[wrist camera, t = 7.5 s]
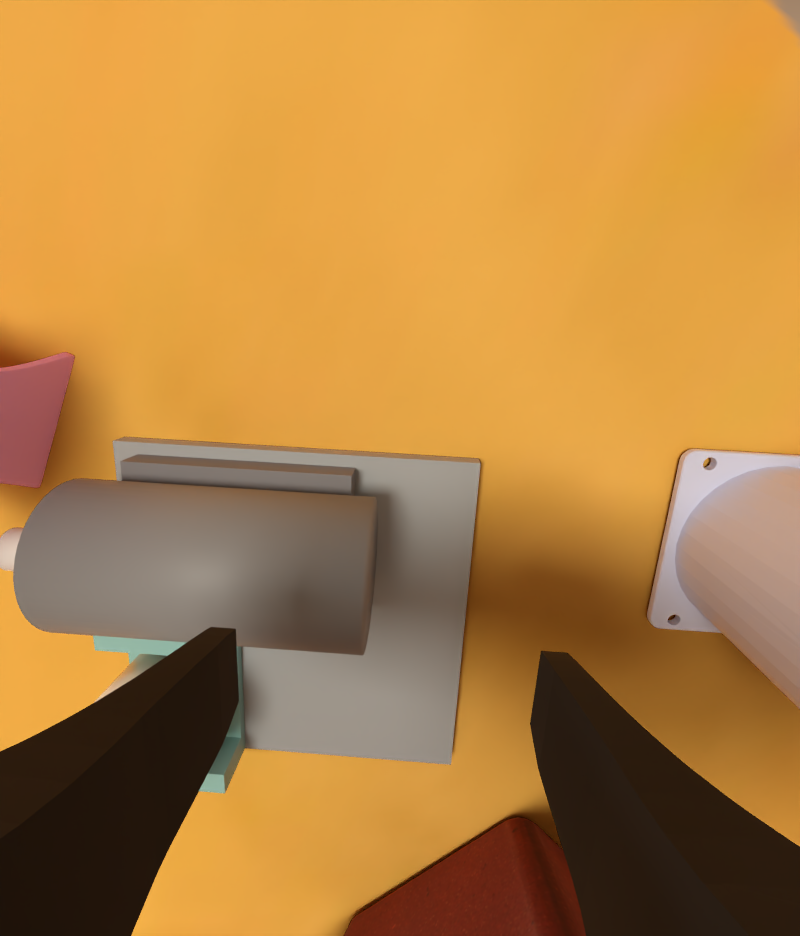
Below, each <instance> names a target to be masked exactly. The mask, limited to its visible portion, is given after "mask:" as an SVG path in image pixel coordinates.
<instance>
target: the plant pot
mask: <svg viewBox="0 0 800 936" xmlns="http://www.w3.org/2000/svg"><path fill="white" fill-rule="evenodd" d="M344 936H586V933H585V928H584V924H583V919H582V915H581V910H580V907H579V903H578V899H577V895H576V892H575V888H574V884H573V881H572V877H571V874H570V871H569V868H568V864H567V861H566V858H565V855H564V851H563V850H562V849H561V848H560V847H559V846H558V845H557V844H556V843H555V842H554V841H553V840H552V839H551V838H550V837H549V836H548V835H547V834H546V833H545V832H544V831H543V830H542V829H541V828H540V827H539V826H538V825H537V824H535V823H533V822H532V821H530V820H529V819H524V818H512V819H509V820H506V821H504V822H503V823H501V824H500V825H498V826H496V827H495V828H493V829H492V830H490V831H489V832H487V833H485V834H484V835H482V836H481V837H479V838H478V839H476V840H474V841H473V842H471V843H470V844H468V845H467V846H465V847H463V848H462V849H460V850H459V851H457V852H456V853H454V854H452V855H451V856H449V857H448V858H446V859H445V860H443V861H441V862H440V863H438V864H437V865H435V866H433V867H432V868H430V869H429V870H427V871H426V872H424V873H422V874H421V875H419V876H418V877H416V878H415V879H413V880H411V881H410V882H408V883H407V884H405V885H404V886H402V887H400V888H399V889H397V890H396V891H394V892H393V893H391V894H389V895H388V896H386V897H385V898H383V899H382V900H380V901H379V902H377V903H376V904H374V905H372V906H371V907H369V908H368V909H366V910H364V911H363V912H361V913H360V914H358V915H356V916H355V917H354V918H353V919H352V920H351V922H350V924H349V926H348V928H347V930H346V932H345V934H344Z"/></svg>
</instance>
